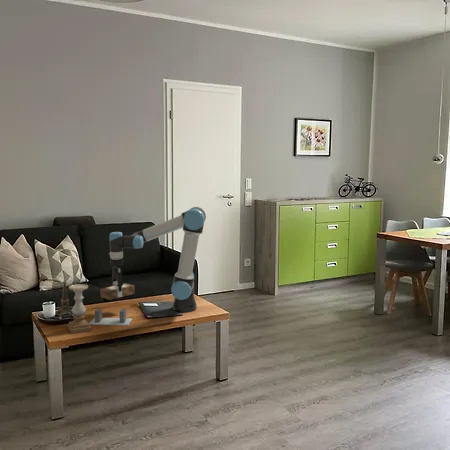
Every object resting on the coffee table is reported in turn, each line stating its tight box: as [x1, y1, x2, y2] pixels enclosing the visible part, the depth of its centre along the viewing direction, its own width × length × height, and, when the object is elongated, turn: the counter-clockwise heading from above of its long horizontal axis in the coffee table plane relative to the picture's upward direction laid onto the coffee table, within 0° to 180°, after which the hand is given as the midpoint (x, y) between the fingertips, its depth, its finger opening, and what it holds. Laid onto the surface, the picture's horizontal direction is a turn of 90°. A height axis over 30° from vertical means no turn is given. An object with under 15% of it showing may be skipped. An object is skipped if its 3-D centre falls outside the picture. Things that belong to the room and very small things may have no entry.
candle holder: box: [66, 283, 93, 335], centre depth 274 cm, size 11×11×24 cm
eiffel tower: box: [55, 276, 73, 318], centre depth 296 cm, size 11×11×25 cm
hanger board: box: [88, 307, 133, 327], centre depth 288 cm, size 22×11×7 cm, turn 89°
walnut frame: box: [100, 283, 136, 301], centre depth 302 cm, size 18×9×5 cm, turn 139°
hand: (117, 294), depth 302 cm, fingers closed on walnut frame, 11 cm apart
